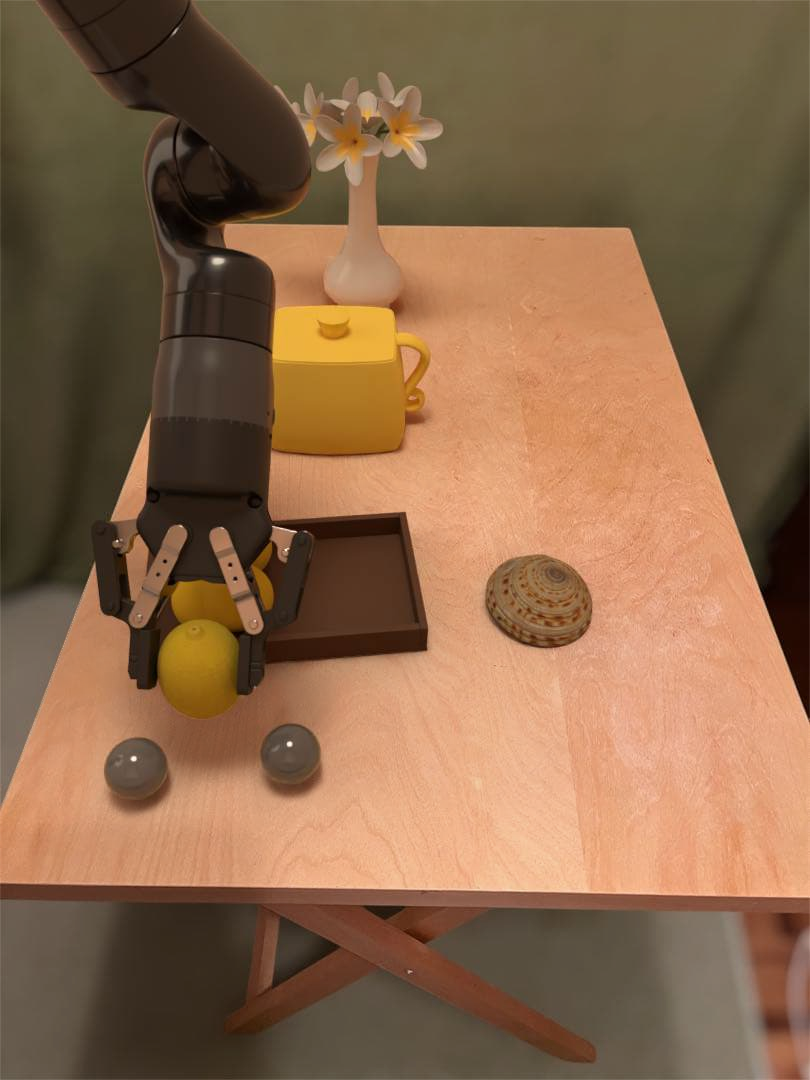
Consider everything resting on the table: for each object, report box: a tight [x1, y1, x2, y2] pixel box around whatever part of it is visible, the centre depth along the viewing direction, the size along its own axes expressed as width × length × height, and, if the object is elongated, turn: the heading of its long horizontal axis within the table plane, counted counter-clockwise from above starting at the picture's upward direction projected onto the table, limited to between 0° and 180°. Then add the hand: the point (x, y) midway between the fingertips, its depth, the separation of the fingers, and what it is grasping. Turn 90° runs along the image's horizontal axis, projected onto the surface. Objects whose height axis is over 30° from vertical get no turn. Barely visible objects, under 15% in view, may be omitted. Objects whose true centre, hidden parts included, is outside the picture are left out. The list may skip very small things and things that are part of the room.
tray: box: [145, 511, 429, 665], centre depth 72 cm, size 21×13×3 cm, turn 97°
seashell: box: [485, 553, 593, 647], centre depth 73 cm, size 8×6×8 cm
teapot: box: [271, 305, 431, 456], centre depth 87 cm, size 20×12×12 cm, turn 92°
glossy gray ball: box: [103, 736, 169, 801], centre depth 59 cm, size 4×4×4 cm
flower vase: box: [273, 71, 444, 309], centre depth 99 cm, size 13×18×25 cm
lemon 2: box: [157, 619, 241, 720], centre depth 58 cm, size 6×6×8 cm
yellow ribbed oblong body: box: [171, 565, 274, 632], centre depth 69 cm, size 8×5×5 cm
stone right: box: [259, 722, 322, 786], centre depth 60 cm, size 4×4×4 cm
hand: (196, 690), depth 57 cm, fingers closed on lemon 2, 5 cm apart
